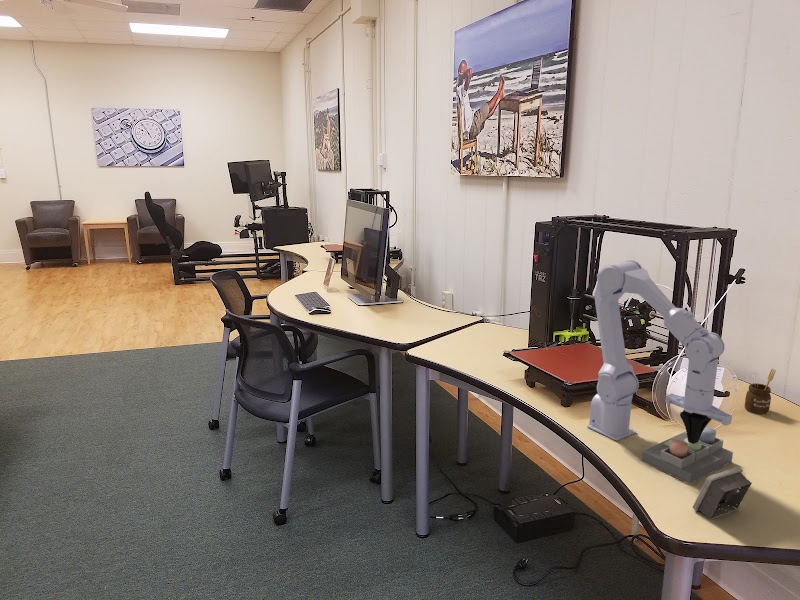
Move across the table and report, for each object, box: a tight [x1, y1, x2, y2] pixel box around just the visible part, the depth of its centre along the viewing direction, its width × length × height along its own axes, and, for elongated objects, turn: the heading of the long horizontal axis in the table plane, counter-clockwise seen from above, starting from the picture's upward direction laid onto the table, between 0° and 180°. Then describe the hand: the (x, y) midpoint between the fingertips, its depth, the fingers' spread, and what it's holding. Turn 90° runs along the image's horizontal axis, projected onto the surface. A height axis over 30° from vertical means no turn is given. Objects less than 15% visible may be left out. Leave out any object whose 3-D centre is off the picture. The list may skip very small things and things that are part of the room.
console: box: [640, 431, 734, 485], centre depth 136 cm, size 12×17×4 cm
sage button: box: [684, 438, 702, 452], centre depth 135 cm, size 4×4×2 cm
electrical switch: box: [692, 466, 753, 520], centre depth 117 cm, size 9×5×9 cm, turn 113°
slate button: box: [699, 426, 717, 443], centre depth 138 cm, size 4×4×2 cm
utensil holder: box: [744, 368, 776, 415], centre depth 161 cm, size 6×6×12 cm
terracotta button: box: [669, 440, 688, 457], centre depth 132 cm, size 4×4×2 cm
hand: (693, 441), depth 135 cm, fingers closed, pressing on sage button
